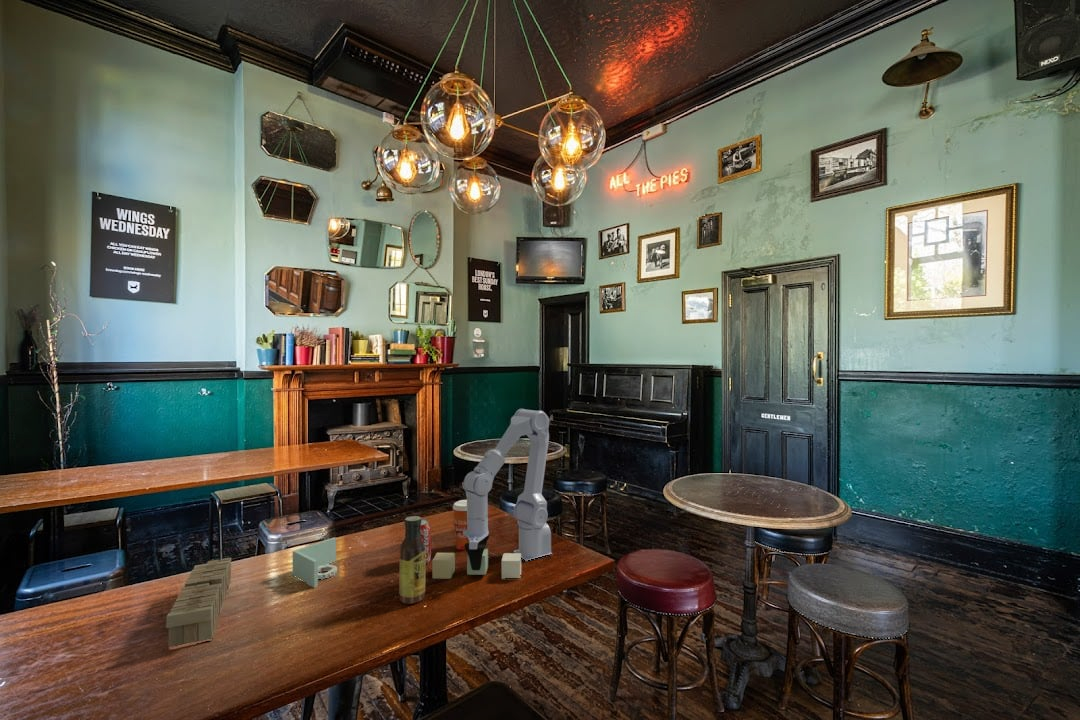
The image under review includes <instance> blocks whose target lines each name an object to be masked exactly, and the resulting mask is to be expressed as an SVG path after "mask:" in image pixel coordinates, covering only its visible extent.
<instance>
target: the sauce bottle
mask: <svg viewBox="0 0 1080 720" xmlns="http://www.w3.org/2000/svg"><path fill="white" fill-rule="evenodd" d="M421 519H422V517H421V516H419V515H413V516H412V515H411V516H407V517H406V518H404V527H405V528H404V531H405V533H404V539H403V540H402V543H401V545H400V549H399V551H400V552H399V554H400V555H399V573H398V575H399V579H398V580H399V583H398V584H399V587H398V589H399V591H398V592H399V593H398V594H399V600H400V602H401V603H403V604H405V605H406V604H407V605H413V604H417V603H420V602H421V601H422V600H424V598H425V593H426V566H427V565H426V564H427V563H426V561H425V560H426V549H425V546H424V543H423V540H422V537H421Z"/></svg>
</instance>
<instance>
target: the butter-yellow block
mask: <svg viewBox="0 0 1080 720" xmlns="http://www.w3.org/2000/svg"><path fill="white" fill-rule="evenodd" d="M455 555H456V554H455V552H436V553H435V556H434V557H433V558H432V561H431V563H432V565H431V566H432V567H431V568H432V569H431V570H432V571H431V572H432V579H443V580H444V579H447V580H449V579H452V577H453V574H454V573H455V570H456V569H455V568H456V565H455V564H456V560H455V559H456V557H455Z"/></svg>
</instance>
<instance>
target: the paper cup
mask: <svg viewBox="0 0 1080 720" xmlns="http://www.w3.org/2000/svg"><path fill="white" fill-rule="evenodd" d="M452 510H453V522H454V535H455V548H456V550H458V551H466V550H465V544H466V543H469V540H468V538H467V536H464V535H463V531H467V499H460V500H458V501H455V502H454V503H453V506H452Z"/></svg>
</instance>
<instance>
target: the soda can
mask: <svg viewBox="0 0 1080 720" xmlns="http://www.w3.org/2000/svg"><path fill="white" fill-rule="evenodd" d="M431 528H432V527H431V525H430V524H429V520H428V519H427V518H421V537H422V540H423V543H424V546H425V549H426V560H425V561H426V564H427V563H428V562H430V560H431V554H432V547H431V546H432V531H431V530H432V529H431Z"/></svg>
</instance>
